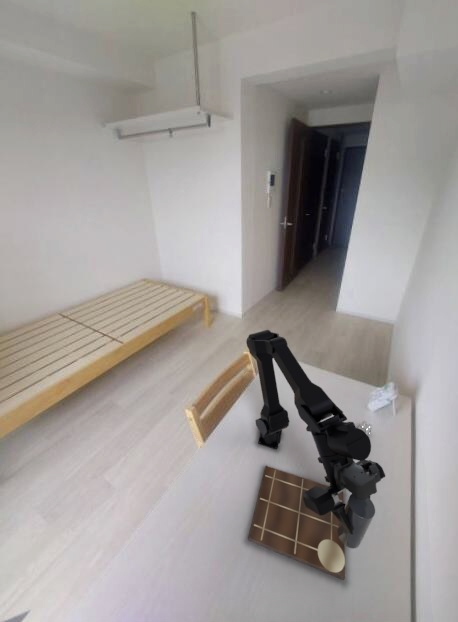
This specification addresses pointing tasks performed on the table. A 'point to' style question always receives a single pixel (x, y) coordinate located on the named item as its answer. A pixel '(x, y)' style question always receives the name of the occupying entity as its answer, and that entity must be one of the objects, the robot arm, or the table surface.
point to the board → (296, 524)
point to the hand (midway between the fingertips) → (360, 527)
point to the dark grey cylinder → (356, 520)
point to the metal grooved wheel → (365, 427)
